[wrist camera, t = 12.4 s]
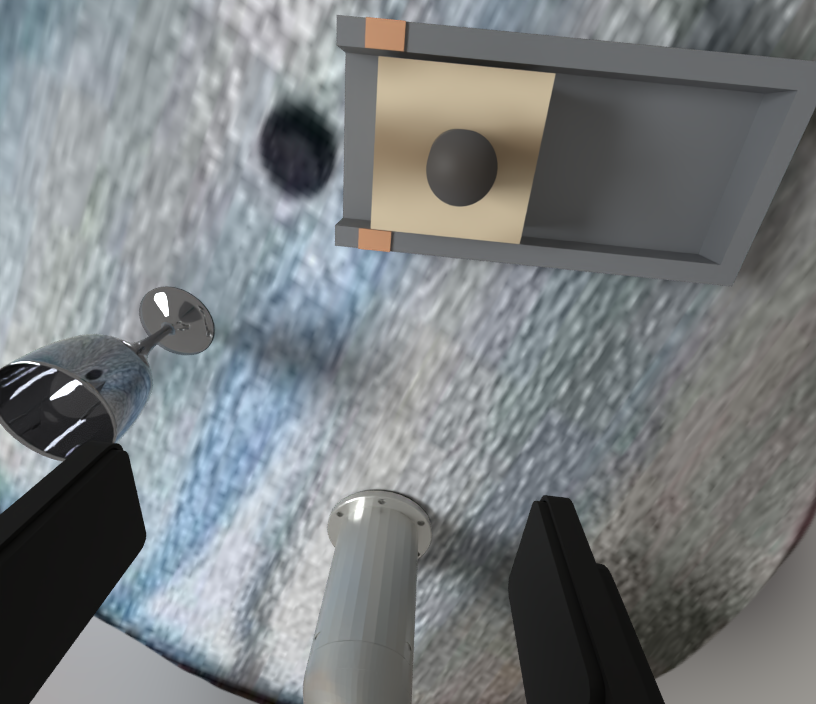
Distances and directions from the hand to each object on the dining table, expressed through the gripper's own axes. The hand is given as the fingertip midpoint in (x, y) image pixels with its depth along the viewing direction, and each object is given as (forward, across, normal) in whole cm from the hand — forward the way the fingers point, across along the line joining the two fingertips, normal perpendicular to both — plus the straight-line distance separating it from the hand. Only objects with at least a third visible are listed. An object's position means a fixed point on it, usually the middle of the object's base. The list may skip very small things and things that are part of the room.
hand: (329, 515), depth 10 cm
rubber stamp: (+28, -3, -8) cm, 29 cm away
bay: (+29, -10, -8) cm, 31 cm away
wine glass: (+30, +21, +10) cm, 38 cm away
